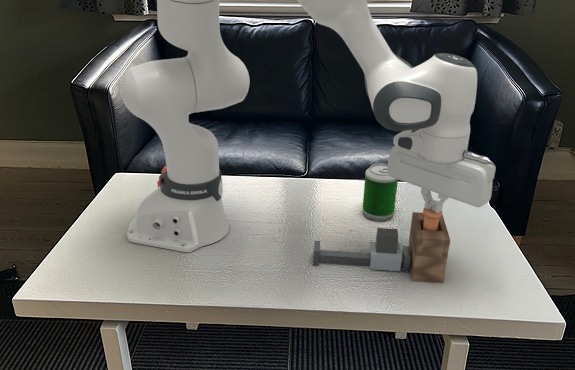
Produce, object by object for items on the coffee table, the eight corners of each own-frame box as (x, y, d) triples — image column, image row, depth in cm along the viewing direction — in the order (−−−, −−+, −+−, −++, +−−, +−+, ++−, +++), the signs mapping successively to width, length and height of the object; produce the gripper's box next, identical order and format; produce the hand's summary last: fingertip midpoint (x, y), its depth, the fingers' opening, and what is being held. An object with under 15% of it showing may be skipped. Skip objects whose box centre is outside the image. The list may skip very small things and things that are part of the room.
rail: (313, 265, 115) (313, 250, 114) (314, 254, 119) (314, 240, 117) (409, 272, 114) (411, 257, 112) (407, 260, 117) (409, 246, 116)
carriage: (370, 269, 114) (373, 237, 110) (369, 255, 118) (372, 224, 115) (400, 271, 113) (404, 239, 110) (398, 257, 118) (401, 226, 114)
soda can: (393, 224, 131) (398, 177, 125) (360, 220, 132) (364, 174, 126) (394, 208, 137) (399, 163, 132) (363, 205, 138) (367, 160, 133)
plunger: (420, 242, 110) (424, 214, 108) (418, 232, 114) (422, 205, 111) (439, 243, 110) (443, 215, 107) (436, 233, 113) (440, 206, 111)
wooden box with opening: (412, 281, 111) (417, 237, 106) (407, 253, 120) (412, 212, 115) (443, 283, 110) (450, 239, 106) (436, 254, 119) (442, 213, 115)
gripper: (505, 154, 99) (491, 223, 105) (404, 126, 111) (397, 188, 117) (489, 165, 95) (476, 236, 101) (386, 134, 107) (380, 199, 113)
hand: (432, 210), depth 109 cm, fingers closed, pressing on plunger
